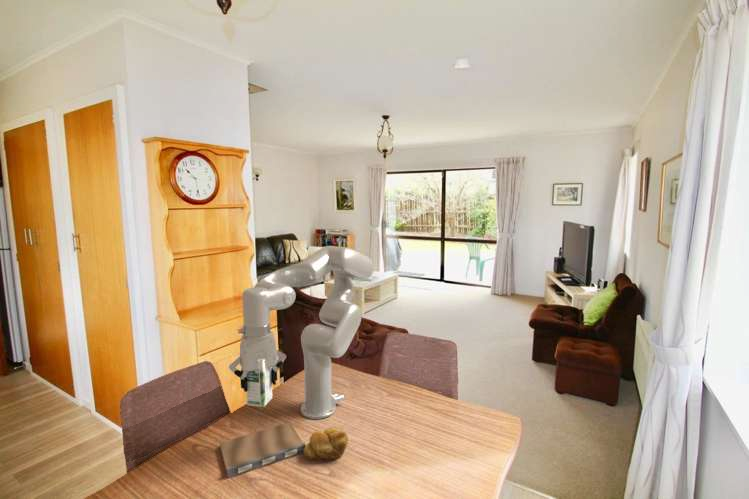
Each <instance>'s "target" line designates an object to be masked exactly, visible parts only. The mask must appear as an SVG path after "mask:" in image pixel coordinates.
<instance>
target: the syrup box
mask: <svg viewBox="0 0 749 499" xmlns="http://www.w3.org/2000/svg"><path fill="white" fill-rule="evenodd" d="M246 378H247V392H246V405H247V406H248V407H249V406H251V407H261V408H265V407H266V406H267V405H268V403H269V402H271V400H272V399H273V383H272V367H269V368H265V360H264V359H260V360H258V365H257V370H255V371H250V372H248V373H247V375H246Z"/></svg>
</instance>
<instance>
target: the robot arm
mask: <svg viewBox="0 0 749 499" xmlns="http://www.w3.org/2000/svg"><path fill="white" fill-rule="evenodd" d="M374 267H375V266H374V263H373V260H372V259H371V258H370V257H369V256H367V255H365V254H362V253H361V252H359V251H357V250H354V249H352V248H350V247H347V246H336V245H326V246H324V247H322V248H320V249H319V250H317V251H316V252H314V253H312V254H311V255H310V256H308V257H307V258H305V259H303V260H302V261H300V262H299V263H298V262H297V263H295V264H292V265H289V266H286V267H285V266H284V267H283V268H280V269H276V270H275V271H273V272H270V273H269V274H267V275H266V276H264V277H263V278H262V279H259V281H257V283H256V284H255V285H254V287H250V288H247V289H244V290H243V292H242V293H241V294H242V295H241V299H242V319H243V324H242V327H241V328H238V335H239V334H242V335H241V338H240V343H239V344H240V346H239V357H238V356H237V358H236V359H235V360H234V361H232V362H231V363H230V365H229V366H228V369H229V370H230V371H231V372H232V373H233V374H234V375H235V376H236V377H238V378H240V388H241V389H243V391H244V392H245V393H247V378H246V375H247V373H248V372H250V371H255V370H257V365H258V360H260V359H264V360H265V368H269V367H272V386H276V385H277V383H276V382H277V381H278V371H279V369H280V368H281V366H282V365H283V363H284V361H285V360H286V359H287V355H286V354H285V353H284V352H281V351H279V350H277V343H276V338H275V335H274V334H275V333H274V332H273V331H272V330H271V311H278V310H279V311H280V310H285V309H288V308H290V307H291V306H292V305H293V304H294V303H295V300H296V296H297V294H296V291H295V290H294V288H296V287H297V288H298V287H306V286H310V285H314V284H316V283H317V282H318V281H320V280H321V279H322V278H324V277H325V276H327V275H328V274H329V273H331V271H332V273H333V286H332V289H331V290H330V293H328V296H327V298H326V299H325V301H324V303H323V304H322V306H321V308H320V310H319V313H318V316H319V319H320V321H321V322H322V323H324V324H325V325H323V324H321V323H310V324H308V325H307V326H305V327H304V329H302V332H301V335H300V342H301V343H300V344H301V348H302V353H303V361H304V362H303V363H304V365H303V366H304V402H303V403H302V405H301V406H300V412H301V415H302V416H303V417H305V418H307V419H312V420H320V419H321V420H322V419H325V418H328V417H330V416H332V415H333V414H334V413H335V412H336V409H337V405H336V404H337V403H338V402H341V401H344V400H345V395H344V394H340V395H339V394H338V392H336V393H334V394H333V392H332V389H333V388H332V359H331V358H334V359H338V358H341V357H342V356H343V355H344V354H345V353H346V352H347V350H348V349H349V347H350V344H351V343H352V341H353V339H354V337H355V335H356V333H357V331H358V329H359V327H360V326H361V321H362V316H363V315H362V314H363V313H362V309H361V307H360V306H359V305H357V304H355V303H354V302H352V300H353V298H354V296H355V288H354V285H353V284H354V283H353V281H352V279H356V280H357V279H358V280H367V279H369V278H370V277H372V275H373V272H374V270H375V269H374ZM334 327H335V328H334ZM278 357H279V358H278ZM239 365H240V366H241V369H240V370H239V369H238V368H237V367H238V366H239Z"/></svg>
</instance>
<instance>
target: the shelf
mask: <svg viewBox="0 0 749 499" xmlns="http://www.w3.org/2000/svg"><path fill="white" fill-rule="evenodd" d="M305 446H306V444H305V442H304V443H303V441H302V439H301V438H300V436H299V434H298V433H297V431H296V429H295V428H294V426H293V425H292V423H291V422H290V421H289V422H286V423H283V424H279V425H277V426H276V425H275V426H273V427H270V428H269V427H268V428H266V429H262V430H258V431H255V432H252V433H249V434H246V435H245V434H244V435H242V436H238V437H235V438H231V439H228V440H224V441H221V442H219V449H220V454H221V456H222V459H223V460H222V462H223V464H224V468H225V472H226V475H227V479H230V478H233V477H236V476H239V475H242V474H246V473H247V472H251V471H252V472H253V471H254V470H257V469H260V468H264V467H267V466H269V465H272V464H275V463H277V462H280V461H284V460H286V459H289V458H294V457H296V456H299V455H302V454H304V448H305Z"/></svg>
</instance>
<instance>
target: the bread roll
mask: <svg viewBox="0 0 749 499" xmlns="http://www.w3.org/2000/svg"><path fill="white" fill-rule="evenodd" d="M348 442H349V438H348V435H347V432H346V431H344V430H340V429H338V428H335V427H331V426H329V427H328V428H327V429H325V430H324V431H322V430H316V431H314V432H313V433H312V434H311V436H310V437H309V443H307V444H305V448H304V453H303V455H304V457H306V458H307V459H309V460H315V461H316V460H320V459H321V460H325V461H326V460H327V461H330V460H331V461H332V460H335V459H338V458H341V457H342V455H343V454H345V450H346V448H347V446H348V444H349V443H348Z"/></svg>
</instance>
